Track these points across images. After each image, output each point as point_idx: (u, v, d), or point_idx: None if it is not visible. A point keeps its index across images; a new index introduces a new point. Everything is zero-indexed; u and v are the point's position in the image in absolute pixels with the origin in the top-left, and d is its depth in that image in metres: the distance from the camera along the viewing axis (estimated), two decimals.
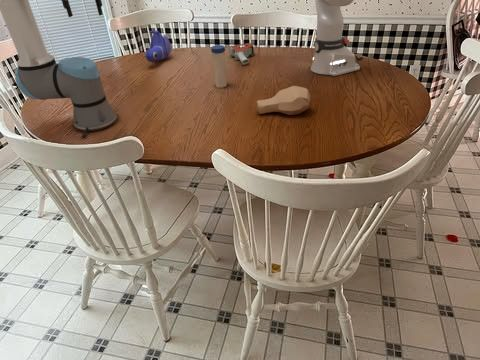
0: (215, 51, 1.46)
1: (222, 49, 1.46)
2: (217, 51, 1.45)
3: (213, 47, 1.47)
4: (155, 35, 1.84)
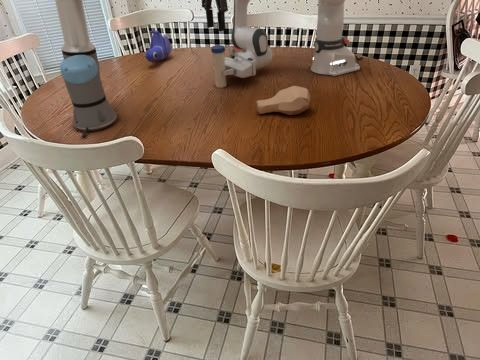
0: (215, 51, 1.46)
1: (222, 49, 1.46)
2: (217, 51, 1.45)
3: (213, 47, 1.47)
4: (155, 35, 1.84)
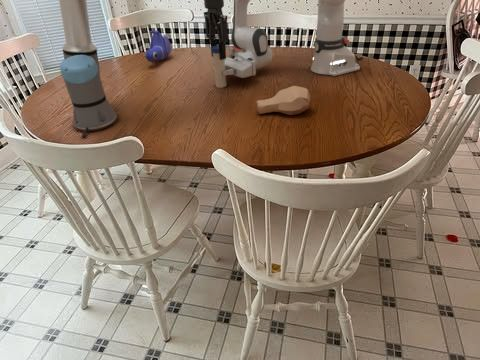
0: (215, 51, 1.46)
1: None
2: (217, 51, 1.45)
3: (213, 47, 1.47)
4: (155, 35, 1.84)
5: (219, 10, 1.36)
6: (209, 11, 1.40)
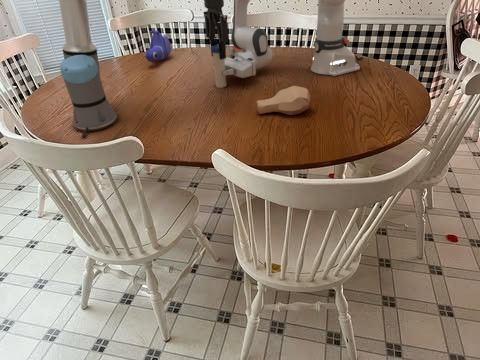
0: None
1: None
2: None
3: None
4: (155, 35, 1.84)
5: (219, 10, 1.36)
6: (209, 11, 1.40)
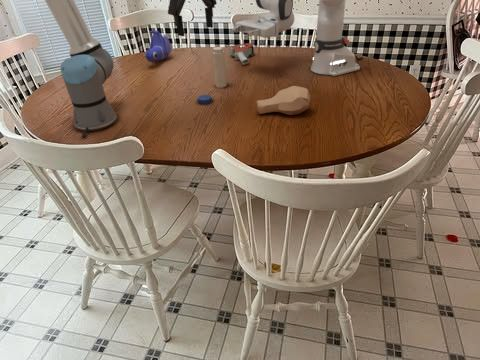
0: (206, 102, 1.41)
1: (211, 98, 1.43)
2: (208, 101, 1.41)
3: (201, 98, 1.42)
4: (155, 35, 1.84)
5: None
6: None
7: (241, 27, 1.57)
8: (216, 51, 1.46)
